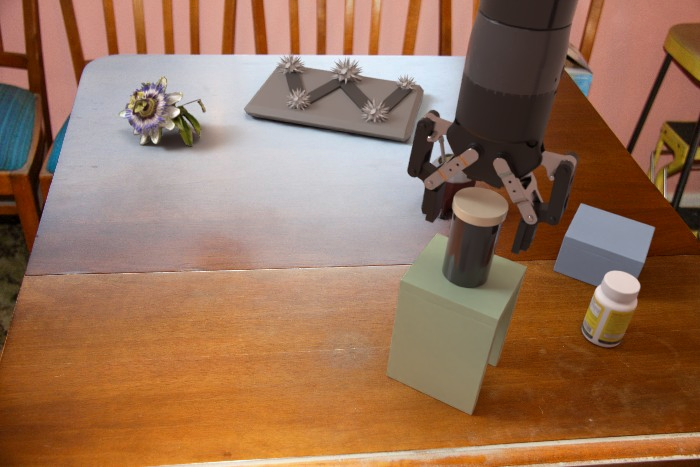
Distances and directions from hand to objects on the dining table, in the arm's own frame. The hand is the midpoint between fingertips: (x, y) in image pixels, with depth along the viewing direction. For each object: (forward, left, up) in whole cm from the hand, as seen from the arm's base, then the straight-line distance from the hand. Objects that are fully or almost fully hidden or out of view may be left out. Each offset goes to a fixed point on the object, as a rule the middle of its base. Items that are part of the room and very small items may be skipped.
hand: (474, 233), depth 61 cm
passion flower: (+60, -22, -19) cm, 67 cm away
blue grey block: (-11, -29, -19) cm, 36 cm away
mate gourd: (+12, -29, -19) cm, 37 cm away
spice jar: (0, 0, -5) cm, 5 cm away
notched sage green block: (0, 0, -19) cm, 19 cm away
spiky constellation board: (+42, -49, -19) cm, 67 cm away
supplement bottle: (-14, -15, -19) cm, 28 cm away
